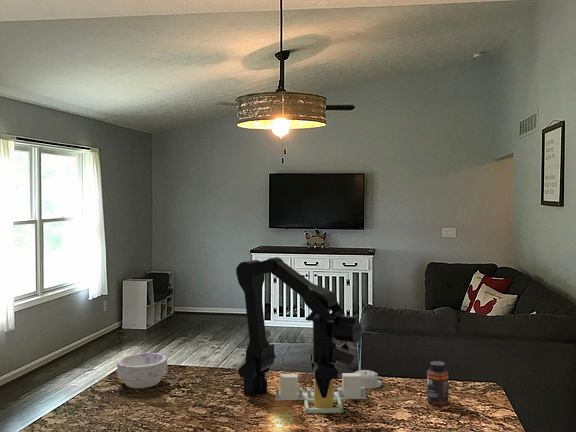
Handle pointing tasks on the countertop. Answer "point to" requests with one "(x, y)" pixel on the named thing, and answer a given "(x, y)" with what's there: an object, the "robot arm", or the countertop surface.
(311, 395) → the block
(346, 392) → the block
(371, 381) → the mechanical component
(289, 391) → the block
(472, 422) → the countertop surface
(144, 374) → the paper bowls
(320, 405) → the block
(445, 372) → the supplement bottle
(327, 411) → the tray
